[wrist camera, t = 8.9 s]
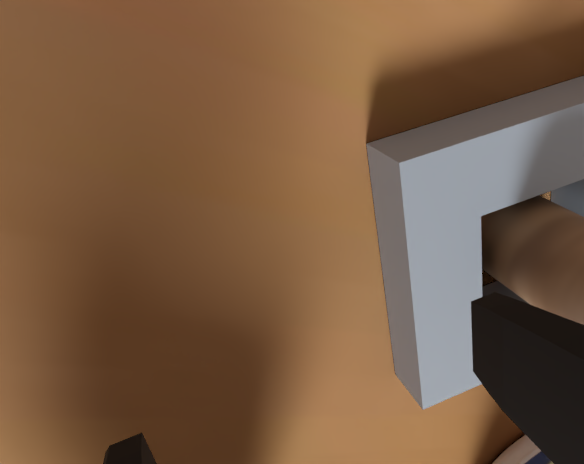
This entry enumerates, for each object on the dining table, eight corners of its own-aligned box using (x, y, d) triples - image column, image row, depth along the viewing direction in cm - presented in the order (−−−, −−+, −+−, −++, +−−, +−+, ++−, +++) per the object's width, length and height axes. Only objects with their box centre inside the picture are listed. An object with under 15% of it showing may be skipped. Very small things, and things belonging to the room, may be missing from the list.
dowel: (535, 248, 25) (671, 330, 20) (463, 277, 25) (583, 372, 19) (537, 173, 24) (689, 239, 18) (459, 202, 23) (591, 281, 17)
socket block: (594, 291, 28) (635, 316, 26) (395, 374, 26) (422, 409, 24) (619, 64, 23) (674, 73, 20) (366, 143, 20) (399, 162, 18)
